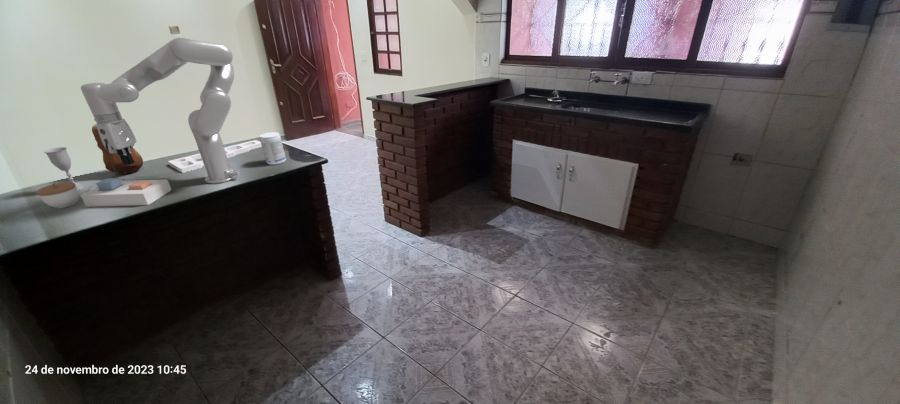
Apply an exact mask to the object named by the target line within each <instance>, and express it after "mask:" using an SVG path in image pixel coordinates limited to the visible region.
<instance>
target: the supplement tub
mask: <svg viewBox="0 0 900 404" xmlns="http://www.w3.org/2000/svg"><path fill="white" fill-rule="evenodd" d="M259 141H260V142H261V145H262V147H261V149H262V152H263V155H264V158H265V159H264V160H265V163H266V164H267V165H271V166H272V165H273V166H274V165H281V164H283V163H285V162H286V161H287V156H286V153H285V150H284V145H283V141H282V138H281V134H280V133H279V132H276V131H274V132H273V131H271V132H265V133H262V134H260V135H259Z"/></svg>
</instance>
